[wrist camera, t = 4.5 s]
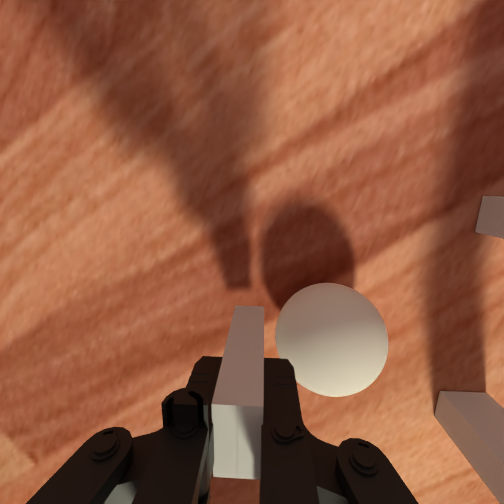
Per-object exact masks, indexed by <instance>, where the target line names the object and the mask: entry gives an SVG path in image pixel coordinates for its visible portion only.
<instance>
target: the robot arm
mask: <svg viewBox="0 0 504 504" xmlns="http://www.w3.org/2000/svg"><path fill="white" fill-rule="evenodd" d="M161 404H162V417H163V428H162V429H160V430H158V431H156V432H153V433H150V434H146V435H142V436H138V437H134V438H132V436H131V434H130V432H129V431H128V430H126V429H125V428H123V427H111V428H107V429H104V430H102V431H100V432H98V433H96V434H94V435H93V436H92V437H91V438H89V439H88V440H87V441H86V442H85V443H84V444H83V445H82V446H81V447H80V448H79V449H78V450H77V451H76V452H75V453H74V454H73V455H72V456H71V457H70V458H69V459H68V460H67V461H66V462H65V464H64V465H63V466H62V467H61V468H60V469H59V470H58V471H57V472H56V473H55V474H54V475H53V476H52V477H51V478H50V479H49V480H48V481H47V482H46V483H45V484H44V485H43V486H42V487H41V488H40V489H39V490H38V491H37V493H36V494H35V495H34V496H33V497H32V498H31V499H30V500H29V501H28V502H27V503H26V504H209V503H210V482H211V476H212V471H213V477H224V478H240V479H257V480H260V501H259V504H418V502H417V501H416V499H415V498H414V496H413V495H412V493H411V492H410V490H409V489H408V488H407V486H406V485H405V483H404V482H403V480H402V479H401V477H400V476H399V474H398V473H397V472H396V470H395V469H394V467H393V466H392V464H391V463H390V461H389V460H388V458H387V457H386V456H385V455H384V454H383V453H382V451H381V450H380V449H379V448H378V447H376V446H375V445H373V444H372V443H370V442H368V441H365V440H362V439H359V438H349V439H347V440H345V441H342V443H341V444H340V445H339V447H337V446H334V445H332V444H329V443H326V442H324V441H321V440H319V439H317V438H316V437H315V436H313V435H312V434H311V433H310V432H309V431H308V430H307V429H306V427H305V425H304V424H303V420H302V416H301V410H300V403H299V397H298V391H297V384H296V379H295V371H294V367H293V365H292V364H291V363H290V361H289V360H288V359H280V358H264V306H236V305H235V309H234V313H233V317H232V321H231V326H230V330H229V334H228V338H227V342H226V346H225V350H224V354H223V357H211V356H203V357H202V358H201V359H200V360H199V361H197V362H196V363H195V365H194V368H193V370H192V373H191V376H190V378H189V381H188V383H187V386H186V388H181V389H179V390H176V391H173V392H172V393H171V394H169V395H168V396H166V398H165V399H164V400H163V402H162V403H161Z"/></svg>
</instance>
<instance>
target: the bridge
mask: <svg viewBox="0 0 504 504" xmlns="http://www.w3.org/2000/svg"><path fill="white" fill-rule="evenodd" d="M475 232H476V233H481V234H485V235H490V236H494V237H499V238H503V239H504V196H483V198H482V202H481V207H480V211H479V216H478V220H477V225H476V229H475ZM434 416H435V418H436V419H437V420H438V422H439V423H440V424H441V426H442V427H443V428H444V430H445V431H446V432H447V434H448V435H449V436H450V438H451V439H452V440H453V442H454V443H455V444H456V446H457V447H458V448H459V450H460V451H461V452H462V454H463V455H464V456H465V458H466V459H467V460H468V462H469V463H470V464H471V465H472V467H473V468H474V469H475V471H476V472H477V473H478V475H479V476H480V477H481V479H482V480H483V481H484V483H485V484H486V485H487V487H488V488H489V489H490V491H491V492H492V493H493V495H494V496H495V497H496V499H497V500H498V501H499V503H500V504H504V408H503V407H502V406H501V405H500V404H498V403H497V402H496V401H495V400H494V399H493V398H492V397H491V396H490V395H489V394H488V393H484V392H457V391H440V393H439V397H438V402H437V406H436V411H435V415H434Z"/></svg>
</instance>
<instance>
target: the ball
mask: <svg viewBox="0 0 504 504" xmlns="http://www.w3.org/2000/svg"><path fill="white" fill-rule="evenodd" d="M275 340H276V347H277V351H278V354H279V357H280V359H288V360H289V361H290V363H291V364H292V365H293V367H294V371H295V379H296V381H297V382H298V383H299V384H301V385H302V386H304V387H305V388H307V389H309V390H310V391H313V392H315V393H318V394H321V395H325V396H332V397H340V396H348V395H351V394H354V393H357V392H360V391H361V390H363V389H365V388H366V387H368V386H369V385H370V384H371V383H373V382H374V380H375V379H376V378H377V377H378V376H379V374H380V373H381V371H382V369H383V367H384V365H385V362H386V359H387V354H388V335H387V330H386V327H385V324H384V321H383V319H382V317H381V315H380V313H379V312H378V310H377V309H376V308H375V306H374V305H373V304H372V303H371V302H370V301H369V300H368V299H367V298H366V297H365V296H364V295H362V294H361V293H359V292H358V291H356V290H354V289H352V288H350V287H347V286H344V285H341V284H336V283H318V284H314V285H310V286H308V287H305V288H303V289H301V290H300V291H298V292H297V293H295V294H294V295H293V296H292V297H291V298H290V299H289V300H288V301H287V302H286V303H285V305H284V306H283V308H282V310H281V312H280V314H279V316H278V320H277V323H276V331H275Z"/></svg>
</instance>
